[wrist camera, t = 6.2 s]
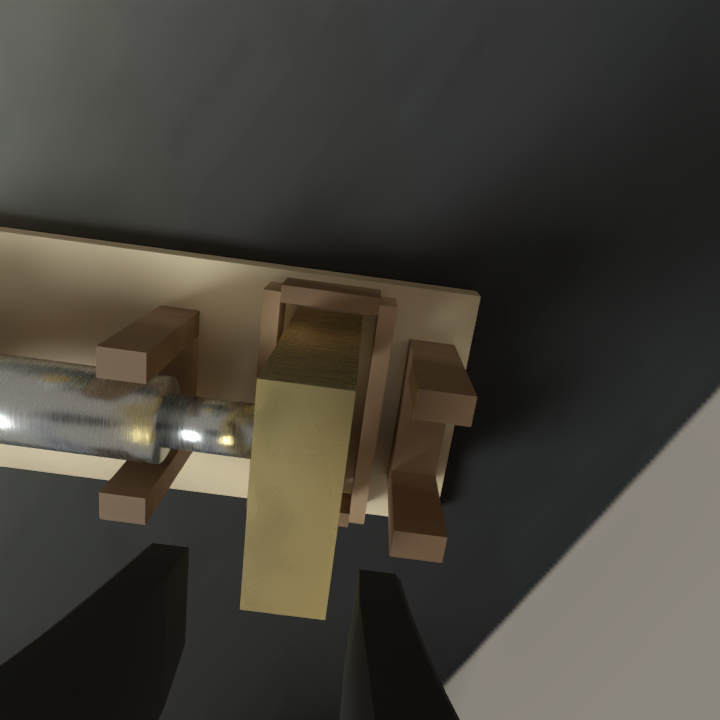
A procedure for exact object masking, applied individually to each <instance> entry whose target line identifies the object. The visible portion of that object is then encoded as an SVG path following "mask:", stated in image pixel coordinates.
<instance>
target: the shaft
mask: <svg viewBox="0 0 720 720" xmlns="http://www.w3.org/2000/svg"><path fill="white" fill-rule="evenodd" d="M254 410H255V404H252V403H245V402H237V401H230V400H222V399H214V398H207V397H199V396H192V395H184V394H180V389H179V384H178V381H177V379H176V378H175V377H173V376H166V375H158V374H157V375H156V376H155V377H153V378H152V379H151V380H150V381H149V382H148V383H147V384H141V383H133V382H126V381H118V380H111V379H103V378H96V366H90V365H83V364H75V363H68V362H60V361H52V360H45V359H37V358H30V357H22V356H15V355H7V354H0V444H5V445H13V446H21V447H28V448H36V449H44V450H51V451H59V452H67V453H74V454H82V455H90V456H98V457H105V458H113V459H121V460H128V461H136V462H144V463H151V464H160V463H161V462H162V461H163V460H164V459H165V458H166V456H167V454H168V453H169V451H170V449H176V450H184V451H191V452H199V453H207V454H214V455H222V456H230V457H237V458H245V459H251V451H252V438H253V424H254Z"/></svg>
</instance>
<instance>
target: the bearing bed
mask: <svg viewBox="0 0 720 720" xmlns="http://www.w3.org/2000/svg"><path fill="white" fill-rule="evenodd" d="M480 298H481V296H480V295H479V294H478V292H477V291H472V290H465V289H458V288H450V287H443V286H436V285H428V284H421V283H413V282H406V281H399V280H391V279H384V278H376V277H369V276H362V275H354V274H347V273H339V272H332V271H325V270H317V269H310V268H303V267H295V266H288V265H280V264H273V263H266V262H258V261H251V260H243V259H236V258H229V257H221V256H214V255H207V254H199V253H192V252H184V251H177V250H170V249H162V248H155V247H147V246H140V245H133V244H125V243H118V242H110V241H103V240H96V239H88V238H81V237H74V236H66V235H59V234H51V233H44V232H37V231H29V230H22V229H14V228H7V227H0V354H7V355H15V356H22V357H30V358H37V359H45V360H52V361H60V362H68V363H75V364H83V365H90V366H96V378H103V379H111V380H118V381H126V382H133V383H141V384H147V383H148V382H149V381H150V380H151V379H152V378H153V377H155V376H156V375H157V374H158V375H166V376H173V377H175V378H176V379H177V381H178V384H179V389H180V394H184V395H192V396H199V397H207V398H214V399H222V400H230V401H237V402H245V403H252V404H255V397H256V383H257V377H258V376H259V374H260V372H261V370H262V369H263V367H264V365H265V363H266V362H267V360H268V358H269V357H270V355H271V353H272V351H273V350H274V348H275V346H276V344H277V343H278V341H279V339H280V338H281V336H282V334H283V332H284V331H285V329H286V327H287V325H288V324H289V322H290V320H291V318H292V317H293V315H294V313H295V312H296V310H297V308H298V307H302V308H310V309H317V310H325V311H332V312H340V313H348V314H355V315H363V324H362V334H361V345H360V355H359V365H358V376H357V386H356V395H355V402H354V410H353V417H352V425H351V432H350V439H349V447H348V454H347V462H346V469H345V477H344V484H343V491H342V499H341V506H340V514H339V521H338V526H341V527H348V522H352V523H359V524H364V519H365V513H366V514H374V515H381V516H388V521H389V553H390V556H393V557H400V558H408V559H416V560H424V561H431V562H439V563H442V560H443V555H444V551H445V546H446V541H447V533H446V528H445V523H444V518H443V512H442V507H441V502H440V495H441V490H442V485H443V480H444V475H445V470H446V465H447V460H448V455H449V450H450V446H451V441H452V436H453V431H454V426H455V425H459V426H467V427H471V425H472V420H473V415H474V411H475V406H476V401H477V395H476V392H475V390H474V388H473V386H472V383H471V381H470V379H469V377H468V374H467V372H466V367H467V362H468V357H469V352H470V347H471V342H472V337H473V333H474V328H475V323H476V318H477V313H478V308H479V303H480ZM250 465H251V459H245V458H237V457H230V456H222V455H214V454H207V453H199V452H191V451H184V450H176V449H170V451H169V453H168V454H167V456H166V458H165V459H164V460H163V461H162V462H161V463H160V464H151V463H144V462H136V461H128V460H121V459H113V458H105V457H98V456H90V455H82V454H74V453H67V452H59V451H51V450H44V449H36V448H28V447H21V446H13V445H5V444H0V466H3V467H10V468H18V469H26V470H34V471H41V472H49V473H57V474H65V475H72V476H80V477H88V478H95V479H103V480H109V482H108V483H107V484H106V485H105V486H104V487H103V488H102V490H101V491H100V492H99V518H100V519H104V520H112V521H120V522H128V523H136V524H143V525H145V524H146V522H147V521H148V519H149V518H150V516H151V515H152V513H153V512H154V510H155V509H156V507H157V506H158V504H159V503H160V501H161V500H162V498H163V496H164V495H165V493H166V492H167V490H168V489H169V488H173V489H180V490H188V491H196V492H204V493H211V494H219V495H227V496H235V497H242V498H247V506H248V492H249V479H250ZM246 509H247V508H246Z"/></svg>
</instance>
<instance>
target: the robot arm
mask: <svg viewBox="0 0 720 720" xmlns="http://www.w3.org/2000/svg"><path fill="white" fill-rule="evenodd" d="M188 555H189V548H187V547H180V546H172V545H164V544H156V543H152V544H151V545H149V546H148V547H147V548H145V549H144V550H143V551H142V552H141V553H139V554H138V555H137V556H136V557H135V558H133V559H132V560H131V561H130V562H129V563H128V564H126V565H125V566H124V567H123V568H122V569H121V570H120V571H118V572H117V573H116V574H115V575H114V576H112V577H111V578H110V579H109V580H108V581H107V582H105V583H104V584H103V585H102V586H101V587H99V588H98V589H97V590H96V591H95V592H94V593H92V594H91V595H90V596H89V597H88V598H86V599H85V600H84V601H83V602H81V603H80V604H79V605H78V606H77V607H75V608H74V609H73V610H72V611H70V612H69V613H68V614H67V615H65V616H64V617H63V618H62V619H60V620H59V621H58V622H57V623H55V624H54V625H53V626H52V627H50V628H49V629H48V630H47V631H45V632H44V633H43V634H42V635H40V636H39V637H38V638H36V639H35V640H34V641H33V642H31V643H30V644H28V645H27V646H26V647H24V648H23V649H22V650H20V651H19V652H18V653H16V654H15V655H14V656H12V657H11V658H10V659H8V660H7V661H6V662H4V663H3V664H1V665H0V720H159V717H160V715H161V713H162V710H163V708H164V706H165V703H166V700H167V697H168V694H169V691H170V688H171V685H172V682H173V679H174V676H175V673H176V670H177V667H178V664H179V660H180V657H181V654H182V651H183V648H184V645H185V631H186V606H187V580H188ZM340 720H459V717H458V716H457V714H456V712H455V710H454V708H453V706H452V704H451V702H450V700H449V698H448V696H447V694H446V692H445V690H444V688H443V685H442V683H441V681H440V679H439V677H438V675H437V673H436V671H435V668H434V666H433V664H432V662H431V660H430V658H429V656H428V653H427V651H426V649H425V646H424V644H423V642H422V639H421V637H420V634H419V632H418V630H417V627H416V625H415V622H414V620H413V617H412V614H411V612H410V609H409V606H408V603H407V601H406V598H405V594H404V591H403V588H402V585H401V581H400V580H399V578H398V577H397V576H396V575H395V574H391V573H383V572H375V571H367V570H360V569H359V574H358V580H357V586H356V593H355V599H354V605H353V612H352V618H351V624H350V631H349V637H348V643H347V650H346V656H345V663H344V674H343V685H342V697H341V709H340Z"/></svg>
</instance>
